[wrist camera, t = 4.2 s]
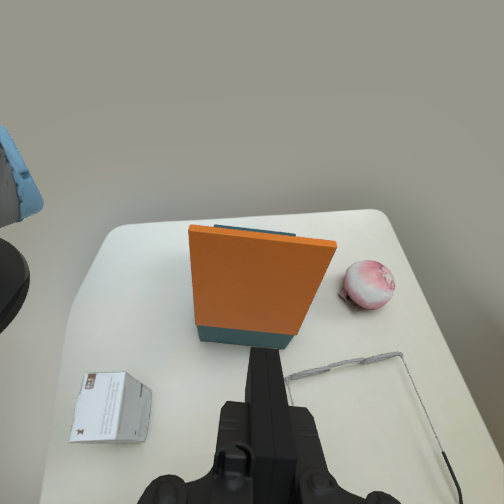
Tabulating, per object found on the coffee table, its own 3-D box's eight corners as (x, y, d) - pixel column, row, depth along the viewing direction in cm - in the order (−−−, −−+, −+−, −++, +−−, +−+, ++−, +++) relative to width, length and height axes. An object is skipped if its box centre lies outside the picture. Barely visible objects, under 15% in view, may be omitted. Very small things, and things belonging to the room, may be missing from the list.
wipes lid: (189, 223, 25) (187, 230, 25) (336, 240, 26) (337, 247, 25) (196, 319, 37) (195, 325, 37) (296, 329, 38) (296, 335, 37)
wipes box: (214, 251, 52) (214, 224, 46) (286, 259, 53) (295, 233, 46) (199, 340, 44) (196, 323, 37) (284, 349, 45) (295, 333, 38)
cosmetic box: (146, 442, 37) (118, 443, 27) (108, 444, 37) (65, 446, 26) (152, 387, 40) (129, 370, 30) (117, 389, 40) (82, 372, 30)
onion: (385, 317, 49) (409, 300, 43) (338, 313, 48) (355, 295, 42) (377, 274, 53) (397, 252, 47) (334, 270, 53) (349, 247, 46)
